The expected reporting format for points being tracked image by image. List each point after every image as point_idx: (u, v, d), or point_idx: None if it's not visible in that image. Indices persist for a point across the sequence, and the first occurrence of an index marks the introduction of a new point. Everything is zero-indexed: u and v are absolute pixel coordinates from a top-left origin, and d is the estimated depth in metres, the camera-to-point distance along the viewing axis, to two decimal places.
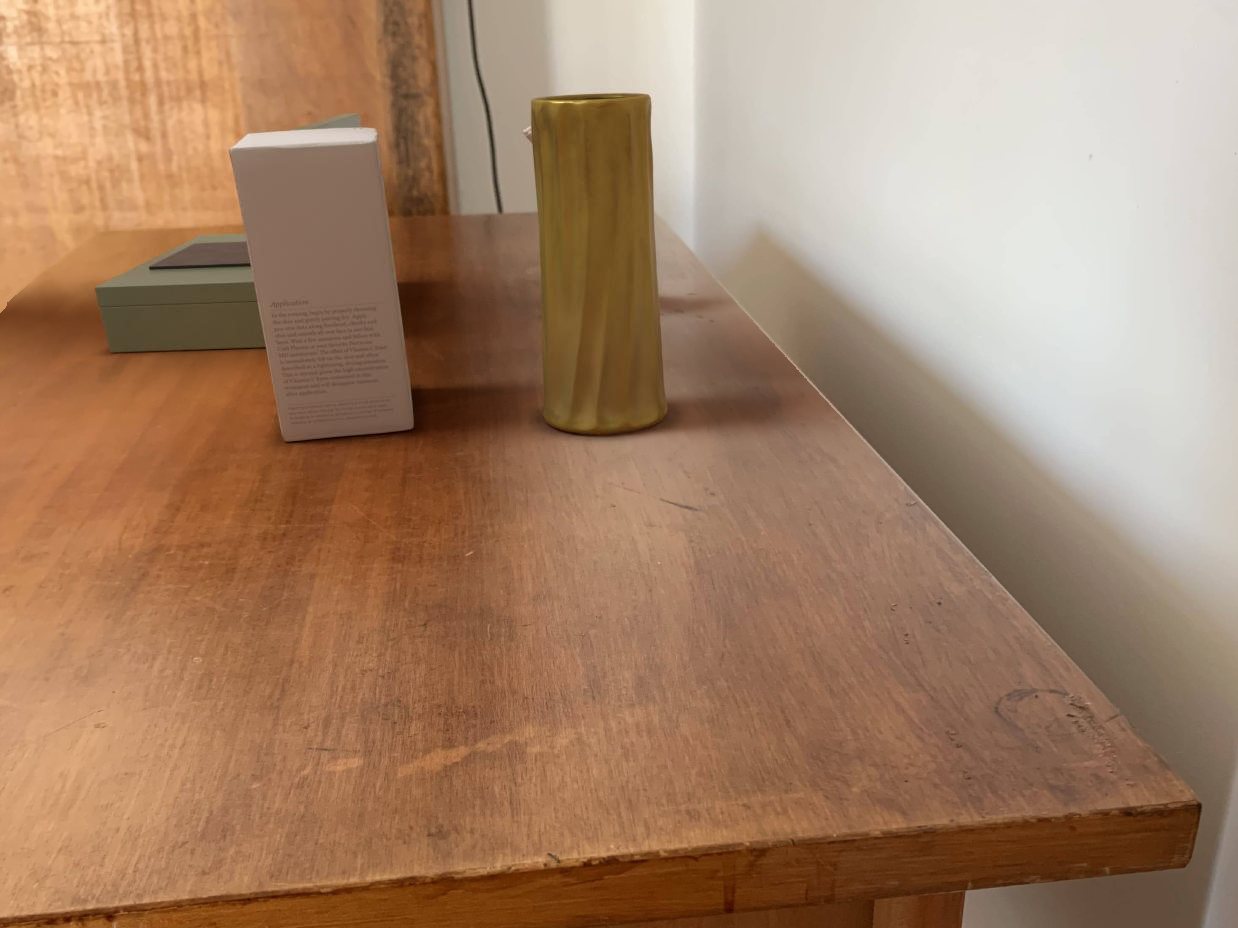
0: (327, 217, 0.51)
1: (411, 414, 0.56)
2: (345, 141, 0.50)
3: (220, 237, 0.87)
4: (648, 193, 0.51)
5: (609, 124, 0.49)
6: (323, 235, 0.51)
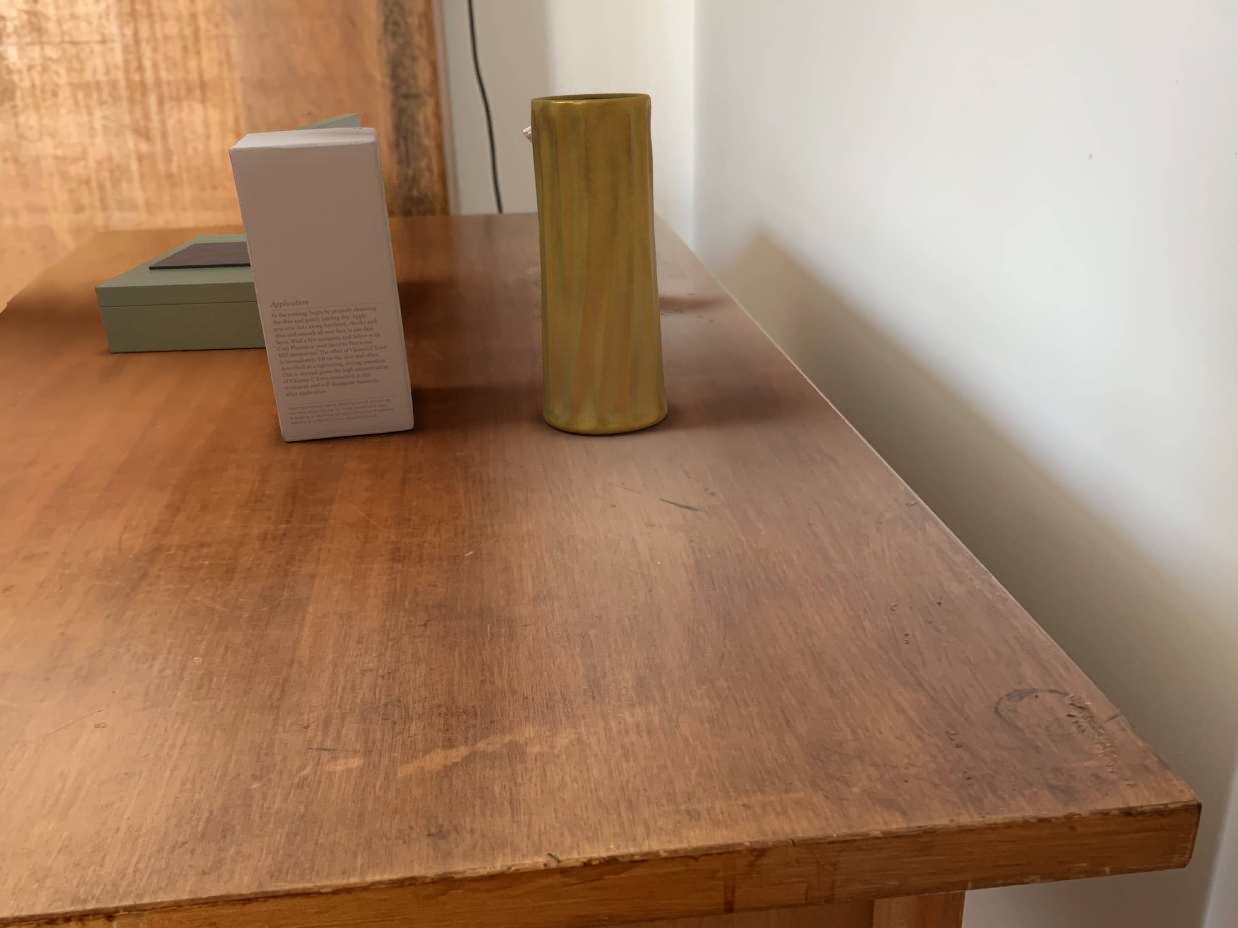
0: (327, 217, 0.51)
1: (411, 414, 0.56)
2: (345, 141, 0.50)
3: (220, 237, 0.87)
4: (648, 193, 0.51)
5: (609, 124, 0.49)
6: (323, 235, 0.51)
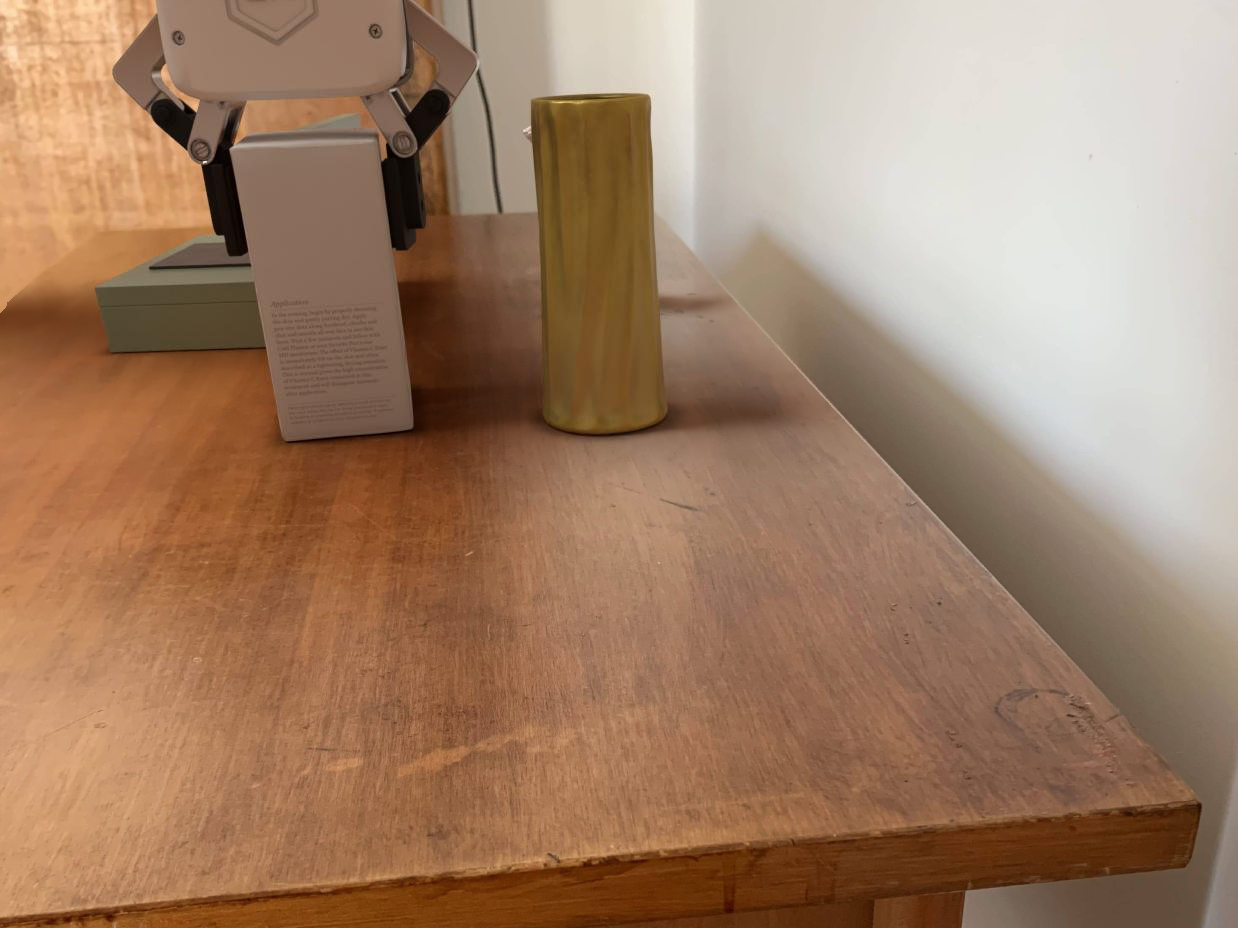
0: (327, 217, 0.51)
1: (411, 414, 0.56)
2: (346, 141, 0.50)
3: (220, 237, 0.87)
4: (648, 193, 0.51)
5: (609, 124, 0.49)
6: (324, 235, 0.51)
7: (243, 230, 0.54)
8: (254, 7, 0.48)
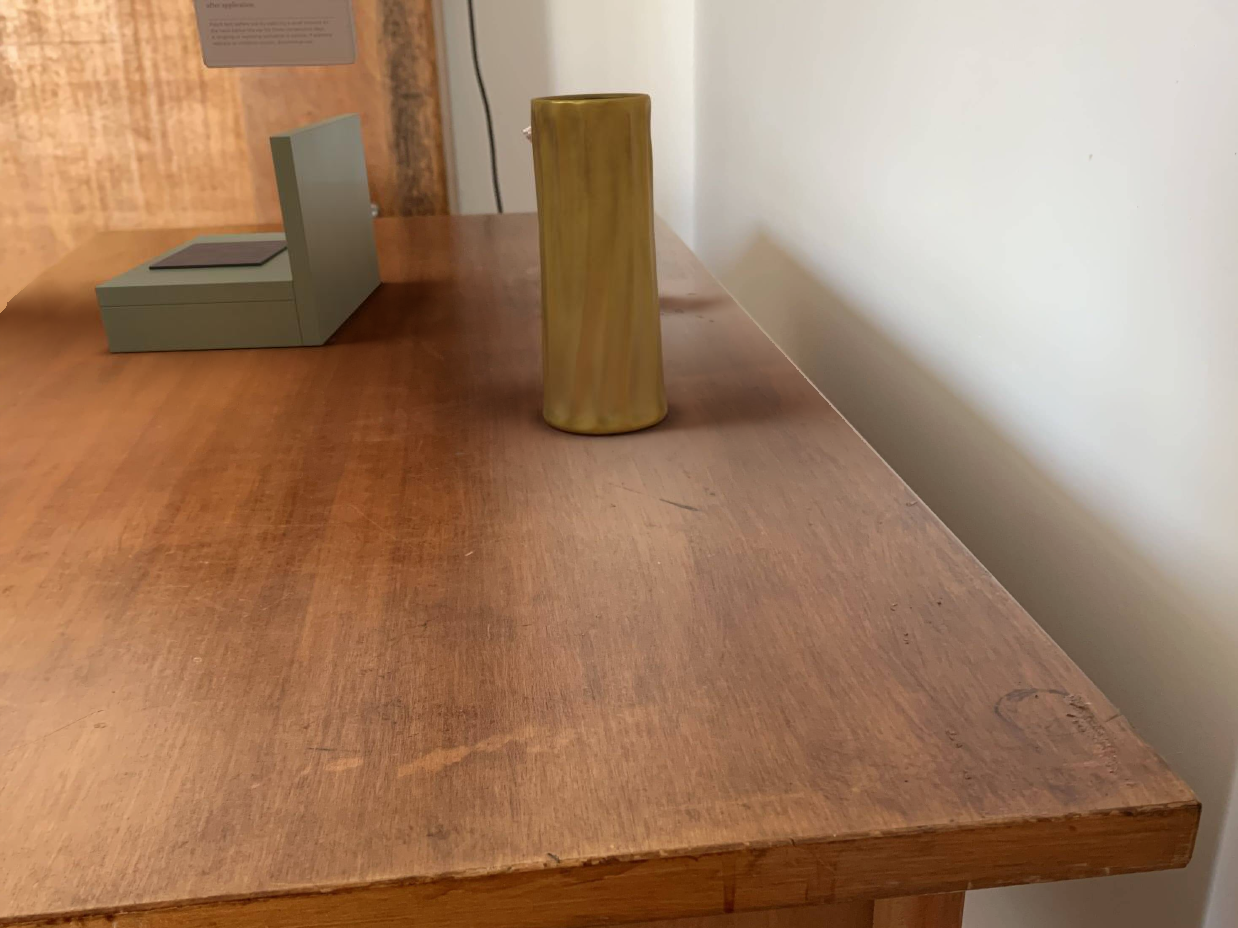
0: None
1: (353, 44, 0.49)
2: None
3: (220, 237, 0.87)
4: (648, 193, 0.51)
5: (609, 124, 0.49)
6: None
7: None
8: None
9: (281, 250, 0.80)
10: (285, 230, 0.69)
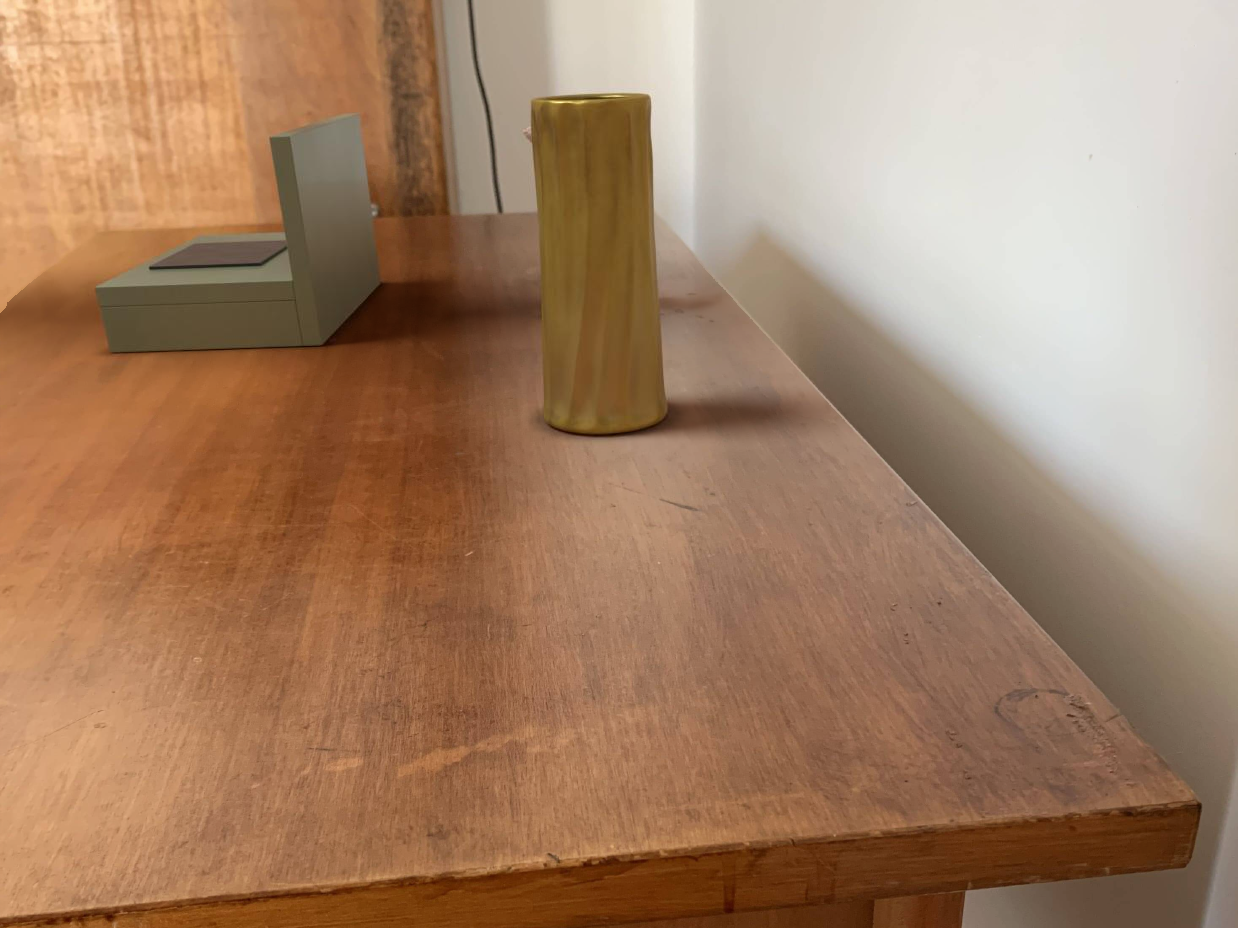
0: None
1: None
2: None
3: (220, 237, 0.87)
4: (648, 193, 0.51)
5: (609, 124, 0.49)
6: None
7: None
8: None
9: (281, 250, 0.80)
10: (285, 230, 0.69)
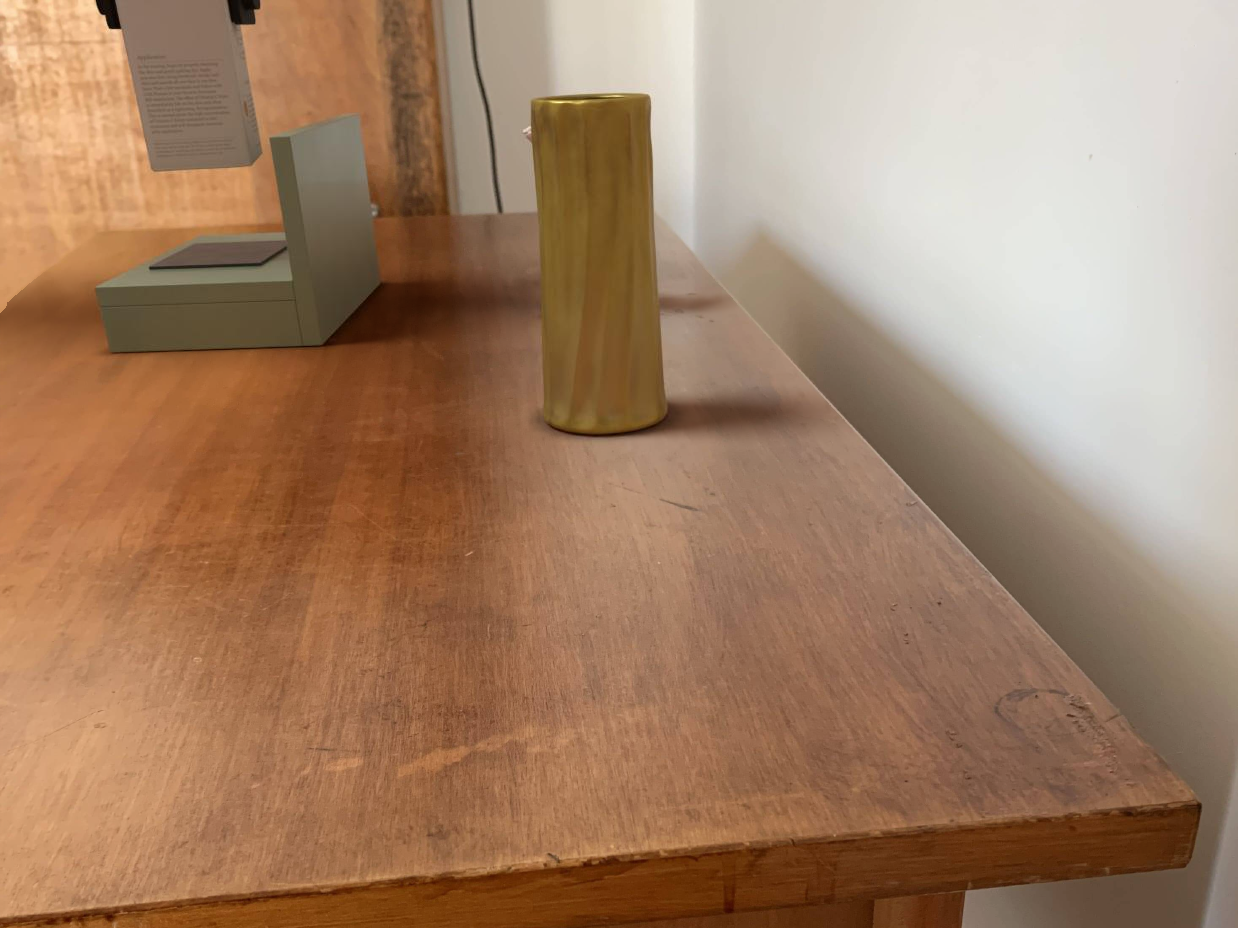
0: None
1: (250, 153, 0.73)
2: None
3: (220, 237, 0.87)
4: (648, 193, 0.51)
5: (609, 124, 0.49)
6: (174, 2, 0.69)
7: None
8: None
9: (281, 250, 0.80)
10: (285, 230, 0.69)
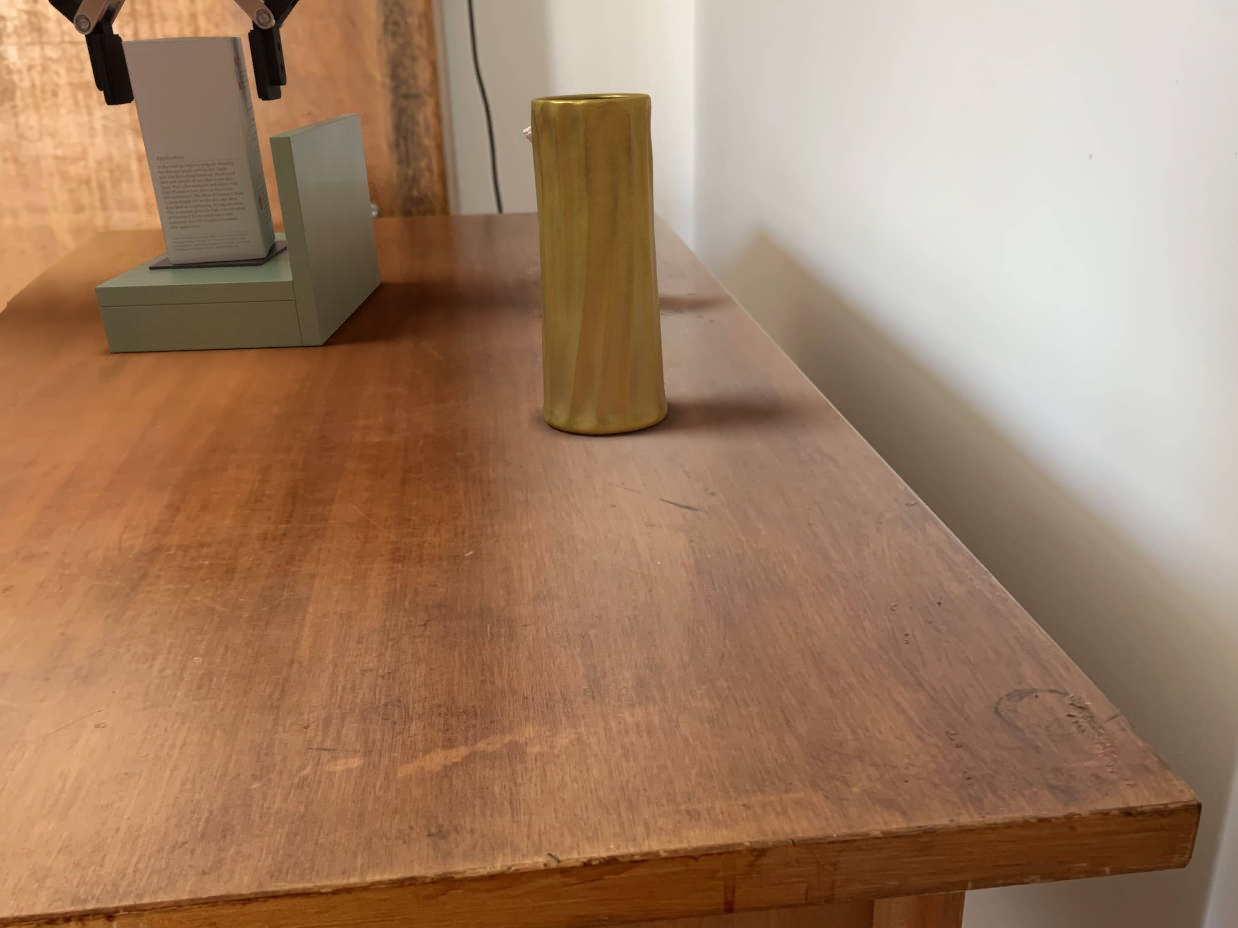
0: (194, 93, 0.71)
1: (264, 245, 0.76)
2: (205, 37, 0.70)
3: None
4: (648, 193, 0.51)
5: (609, 124, 0.49)
6: (192, 106, 0.72)
7: (117, 86, 0.74)
8: None
9: (281, 250, 0.80)
10: (285, 230, 0.69)
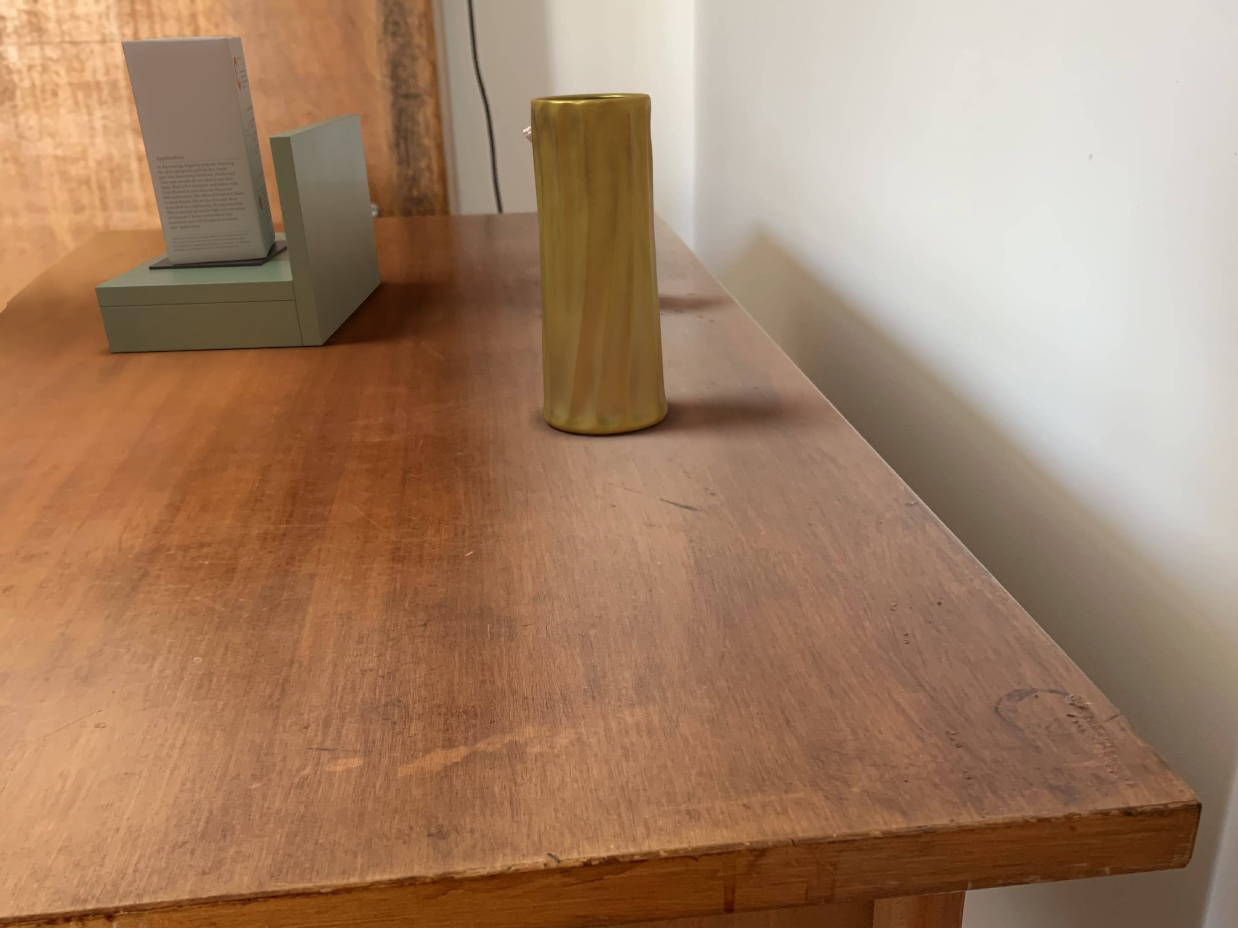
0: (194, 93, 0.71)
1: (264, 245, 0.76)
2: (205, 37, 0.70)
3: None
4: (648, 193, 0.51)
5: (609, 124, 0.49)
6: (192, 107, 0.72)
7: None
8: None
9: (281, 250, 0.80)
10: (285, 230, 0.69)
